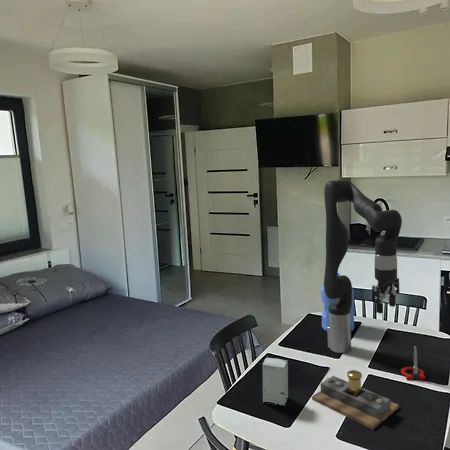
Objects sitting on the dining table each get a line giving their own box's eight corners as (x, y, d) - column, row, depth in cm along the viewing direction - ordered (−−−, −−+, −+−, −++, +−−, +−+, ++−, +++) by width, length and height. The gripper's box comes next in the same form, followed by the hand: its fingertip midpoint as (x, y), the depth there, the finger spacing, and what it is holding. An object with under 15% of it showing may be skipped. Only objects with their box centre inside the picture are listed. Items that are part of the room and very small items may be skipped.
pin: (345, 400, 147) (344, 374, 145) (353, 394, 150) (352, 368, 148) (357, 405, 143) (356, 378, 141) (365, 399, 146) (364, 373, 144)
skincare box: (263, 403, 150) (260, 364, 148) (267, 394, 156) (265, 356, 154) (286, 406, 147) (284, 367, 145) (289, 397, 153) (287, 359, 151)
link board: (312, 399, 150) (311, 385, 150) (338, 382, 160) (338, 369, 160) (372, 429, 132) (372, 414, 131) (398, 407, 142) (398, 393, 141)
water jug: (359, 326, 210) (358, 272, 206) (345, 337, 199) (343, 280, 194) (331, 319, 221) (330, 268, 216) (316, 329, 209) (314, 275, 205)
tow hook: (398, 369, 168) (404, 380, 159) (397, 338, 166) (404, 347, 157) (420, 369, 166) (428, 380, 157) (420, 338, 165) (427, 347, 156)
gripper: (386, 260, 156) (387, 301, 159) (364, 268, 148) (365, 312, 150) (406, 263, 151) (406, 306, 153) (384, 272, 142) (384, 317, 145)
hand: (385, 309), depth 152 cm, fingers open, 8 cm apart
